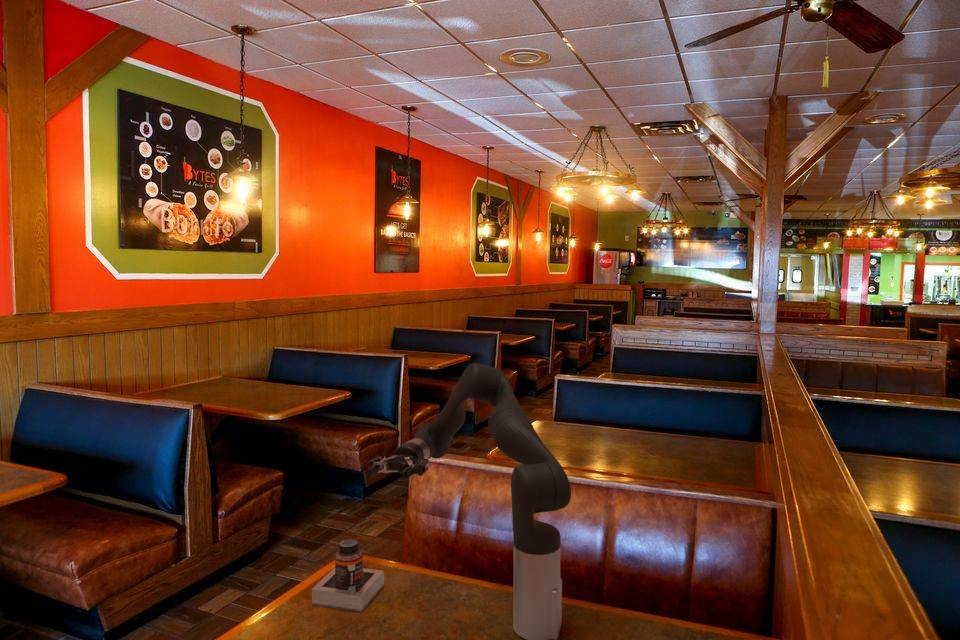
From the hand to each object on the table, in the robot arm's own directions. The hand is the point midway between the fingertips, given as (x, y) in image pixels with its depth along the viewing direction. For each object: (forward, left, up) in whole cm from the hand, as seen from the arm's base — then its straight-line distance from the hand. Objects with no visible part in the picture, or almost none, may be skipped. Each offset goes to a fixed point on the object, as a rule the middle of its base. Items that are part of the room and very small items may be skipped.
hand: (386, 474), depth 150 cm
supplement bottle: (+3, +14, -22) cm, 27 cm away
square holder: (+3, +15, -23) cm, 27 cm away
